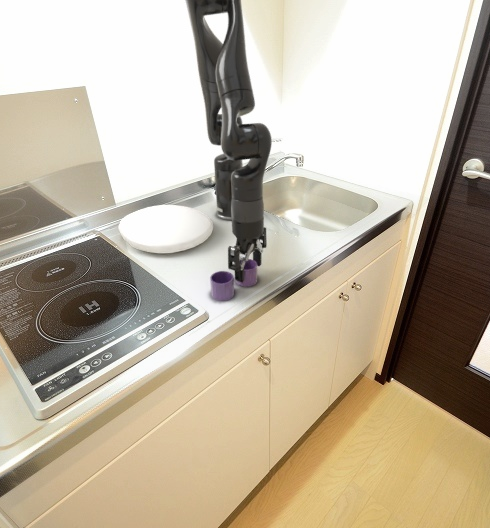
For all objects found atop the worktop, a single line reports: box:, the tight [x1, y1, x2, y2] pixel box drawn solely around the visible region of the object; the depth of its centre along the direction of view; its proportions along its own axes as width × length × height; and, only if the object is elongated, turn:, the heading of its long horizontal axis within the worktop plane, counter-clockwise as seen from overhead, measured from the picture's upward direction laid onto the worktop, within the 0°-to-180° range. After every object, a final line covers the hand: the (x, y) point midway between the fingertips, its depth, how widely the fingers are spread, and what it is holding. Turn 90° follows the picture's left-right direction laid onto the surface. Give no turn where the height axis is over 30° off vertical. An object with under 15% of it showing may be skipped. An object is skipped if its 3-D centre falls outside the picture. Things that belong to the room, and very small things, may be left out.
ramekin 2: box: [235, 258, 258, 288], centre depth 94 cm, size 6×6×5 cm
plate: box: [118, 204, 214, 254], centre depth 113 cm, size 28×6×27 cm
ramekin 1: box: [209, 270, 235, 302], centre depth 89 cm, size 6×6×5 cm
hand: (248, 272), depth 93 cm, fingers open, 8 cm apart
